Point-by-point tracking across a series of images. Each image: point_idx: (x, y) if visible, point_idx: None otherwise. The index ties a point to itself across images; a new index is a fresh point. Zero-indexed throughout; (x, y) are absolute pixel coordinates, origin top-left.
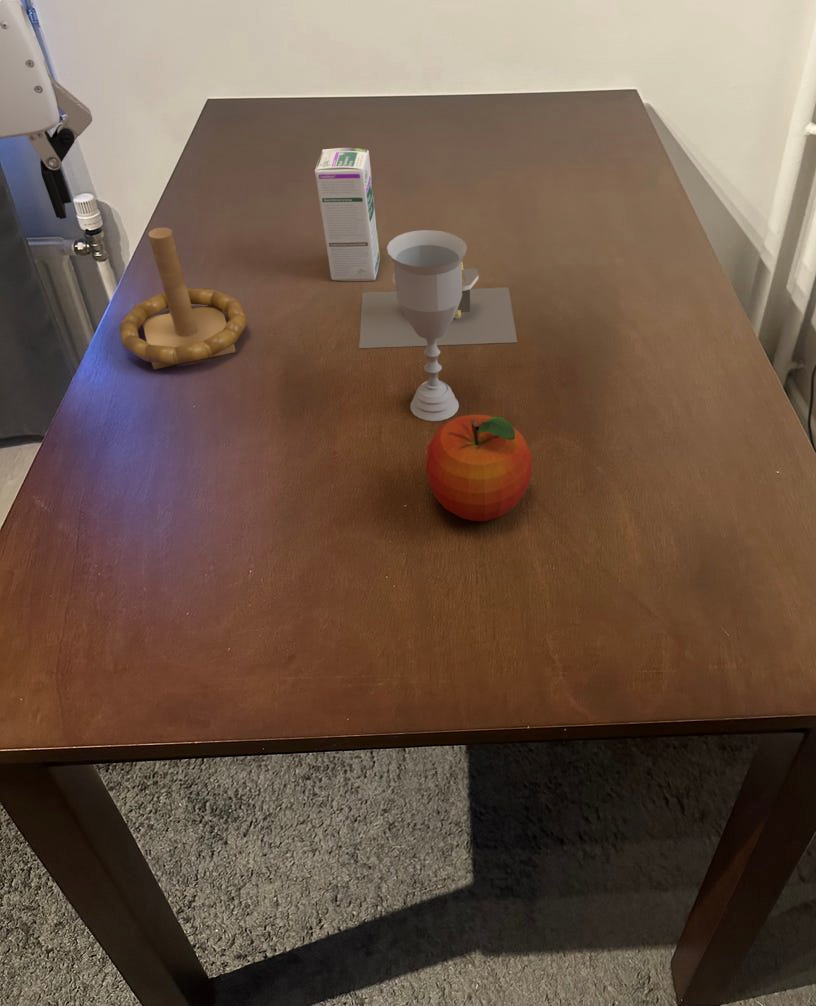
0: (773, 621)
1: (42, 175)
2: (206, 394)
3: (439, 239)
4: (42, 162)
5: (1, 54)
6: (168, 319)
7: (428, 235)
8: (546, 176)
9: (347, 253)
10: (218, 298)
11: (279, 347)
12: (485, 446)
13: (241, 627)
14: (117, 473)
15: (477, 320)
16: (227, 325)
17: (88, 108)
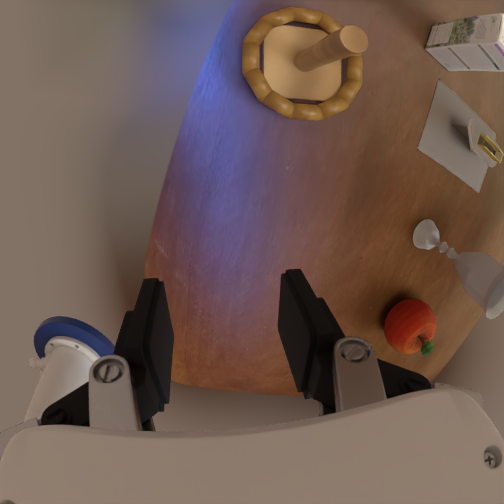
0: (424, 369)
1: (300, 391)
2: (300, 154)
3: None
4: (316, 398)
5: None
6: (290, 35)
7: None
8: None
9: (452, 58)
10: None
11: (370, 114)
12: (418, 342)
13: (270, 359)
14: (216, 233)
15: (475, 159)
16: (346, 94)
17: (483, 402)
